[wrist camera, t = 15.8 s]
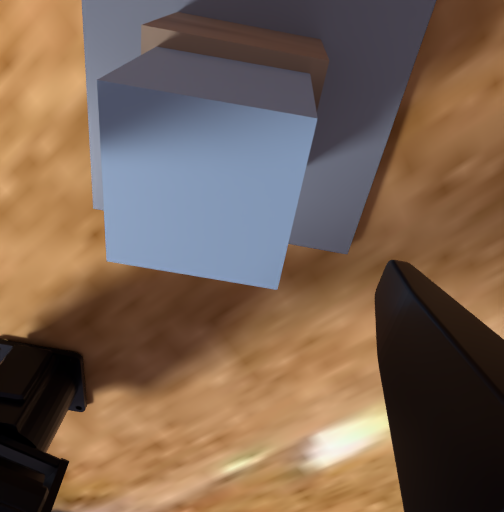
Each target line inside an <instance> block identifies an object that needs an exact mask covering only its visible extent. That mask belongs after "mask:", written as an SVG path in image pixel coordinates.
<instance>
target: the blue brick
mask: <svg viewBox="0 0 504 512" xmlns="http://www.w3.org/2000/svg"><path fill="white" fill-rule="evenodd" d="M97 92H98V111H99V129H100V147H101V166H102V184H103V202H104V221H105V239H106V257H107V261H109V262H114V263H120V264H126V265H132V266H138V267H144V268H150V269H156V270H162V271H168V272H174V273H180V274H186V275H192V276H198V277H204V278H210V279H216V280H222V281H228V282H234V283H240V284H245V285H251V286H257V287H263V288H269V289H275V290H277V289H278V285H279V281H280V277H281V272H282V268H283V264H284V259H285V255H286V251H287V247H288V242H289V238H290V234H291V230H292V225H293V221H294V217H295V213H296V208H297V204H298V200H299V196H300V191H301V187H302V183H303V178H304V174H305V170H306V166H307V161H308V157H309V153H310V149H311V144H312V140H313V136H314V132H315V127H316V123H317V119H318V118H317V112H316V106H315V100H314V94H313V88H312V82H311V76H310V74H309V73H303V72H298V71H292V70H286V69H281V68H275V67H269V66H264V65H258V64H253V63H247V62H241V61H236V60H230V59H224V58H219V57H213V56H207V55H202V54H196V53H190V52H185V51H179V50H173V49H168V48H162V47H155V48H153V49H151V50H149V51H148V52H146V53H144V54H142V55H140V56H139V57H137V58H135V59H133V60H131V61H130V62H128V63H126V64H124V65H122V66H121V67H119V68H117V69H115V70H114V71H112V72H110V73H108V74H106V75H105V76H103V77H101V78H99V79H97Z"/></svg>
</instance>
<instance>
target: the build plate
mask: <svg viewBox="0 0 504 512" xmlns="http://www.w3.org/2000/svg"><path fill="white" fill-rule="evenodd" d="M435 3H436V0H82V15H83V32H84V50H85V68H86V86H87V104H88V122H89V139H90V157H91V175H92V193H93V209H99V210H104V202H103V184H102V166H101V147H100V129H99V111H98V92H97V79H99V78H101V77H103V76H105V75H106V74H108V73H110V72H112V71H114V70H115V69H117V68H119V67H121V66H122V65H124V64H126V63H128V62H130V61H131V60H133V59H135V58H137V57H139V56H140V55H141V25H142V24H145V23H148V22H151V21H153V20H156V19H159V18H162V17H164V16H167V15H170V14H173V13H176V12H181V13H186V14H191V15H196V16H201V17H207V18H212V19H217V20H222V21H228V22H233V23H238V24H243V25H248V26H254V27H259V28H264V29H269V30H274V31H280V32H285V33H290V34H295V35H301V36H306V37H311V38H316V39H321V41H322V43H323V46H324V48H325V51H326V53H327V56H328V58H329V64H328V69H327V73H326V77H325V81H324V85H323V89H322V93H321V97H320V101H319V106H318V110H317V118H318V119H317V123H316V127H315V132H314V136H313V140H312V144H311V149H310V153H309V157H308V161H307V166H306V170H305V174H304V178H303V183H302V187H301V191H300V196H299V200H298V204H297V208H296V213H295V217H294V221H293V225H292V230H291V234H290V238H289V242H288V244H292V245H298V246H303V247H309V248H314V249H320V250H325V251H331V252H336V253H342V254H348V251H349V248H350V246H351V243H352V240H353V237H354V234H355V231H356V228H357V226H358V223H359V220H360V217H361V214H362V211H363V208H364V206H365V203H366V200H367V197H368V194H369V191H370V188H371V186H372V183H373V180H374V177H375V174H376V171H377V169H378V166H379V163H380V160H381V157H382V154H383V151H384V149H385V146H386V143H387V140H388V137H389V134H390V131H391V129H392V126H393V123H394V120H395V117H396V114H397V111H398V109H399V106H400V103H401V100H402V97H403V94H404V91H405V89H406V86H407V83H408V80H409V77H410V74H411V71H412V69H413V66H414V63H415V60H416V57H417V54H418V51H419V49H420V46H421V43H422V40H423V37H424V34H425V31H426V29H427V26H428V23H429V20H430V17H431V14H432V11H433V9H434V6H435Z"/></svg>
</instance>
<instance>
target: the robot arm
mask: <svg viewBox="0 0 504 512" xmlns="http://www.w3.org/2000/svg"><path fill="white" fill-rule="evenodd" d="M375 318H376V340H377V356H378V364H379V370H380V376H381V382H382V387H383V393H384V399H385V404H386V410H387V416H388V422H389V427H390V433H391V439H392V444H393V450H394V456H395V462H396V467H397V473H398V479H399V484H400V490H401V496H402V502H403V507H404V512H504V339H502V338H501V337H500V336H499V335H497V334H496V333H495V332H494V331H493V330H491V329H490V328H489V327H488V326H486V325H485V324H484V323H483V322H481V321H480V320H479V319H478V318H477V317H475V316H474V315H473V314H472V313H470V312H469V311H468V310H467V309H465V308H464V307H463V306H462V305H461V304H459V303H458V302H457V301H456V300H454V299H453V298H452V297H451V296H449V295H448V294H447V293H446V292H445V291H443V290H442V289H441V288H440V287H438V286H437V285H436V284H435V283H433V282H432V281H431V280H430V279H429V278H427V277H426V276H425V275H424V274H422V273H421V272H420V271H419V270H417V269H416V268H415V267H414V266H413V265H411V264H410V263H408V262H403V261H398V260H390V261H389V262H388V263H387V265H386V267H385V269H384V272H383V274H382V276H381V279H380V281H379V284H378V286H377V288H376V292H375ZM86 407H87V399H86V388H85V377H84V367H83V358H82V356H81V355H80V354H79V353H76V352H70V351H64V350H59V349H53V348H47V347H41V346H35V345H30V344H24V343H18V342H12V341H7V340H1V339H0V512H51V510H52V508H53V505H54V502H55V499H56V497H57V494H58V491H59V488H60V486H61V483H62V480H63V477H64V474H65V472H66V469H67V466H68V463H69V461H68V460H66V459H63V458H61V459H59V458H57V457H55V456H52V455H50V454H48V453H46V452H47V450H48V448H49V446H50V444H51V442H52V440H53V438H54V436H55V434H56V432H57V430H58V428H59V426H60V425H61V423H62V421H63V419H64V417H65V415H66V413H67V411H68V410H71V411H77V412H83V411H85V409H86Z"/></svg>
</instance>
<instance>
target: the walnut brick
mask: <svg viewBox="0 0 504 512" xmlns="http://www.w3.org/2000/svg"><path fill="white" fill-rule="evenodd" d="M155 47H162V48H168V49H173V50H179V51H185V52H190V53H196V54H202V55H207V56H213V57H219V58H224V59H230V60H236V61H241V62H247V63H253V64H258V65H264V66H269V67H275V68H281V69H286V70H292V71H298V72H303V73H309V74H310V76H311V82H312V88H313V94H314V100H315V106H316V112H317V110H318V106H319V101H320V97H321V93H322V89H323V85H324V81H325V77H326V73H327V69H328V64H329V58H328V56H327V53H326V51H325V48H324V46H323V43H322V41H321V39H316V38H311V37H306V36H301V35H295V34H290V33H285V32H280V31H274V30H269V29H264V28H259V27H254V26H248V25H243V24H238V23H233V22H228V21H222V20H217V19H212V18H207V17H201V16H196V15H191V14H186V13H181V12H176V13H173V14H170V15H167V16H164V17H162V18H159V19H156V20H153V21H151V22H148V23H145V24H142V25H141V55H142V54H144V53H146V52H148V51H149V50H151V49H153V48H155Z"/></svg>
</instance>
